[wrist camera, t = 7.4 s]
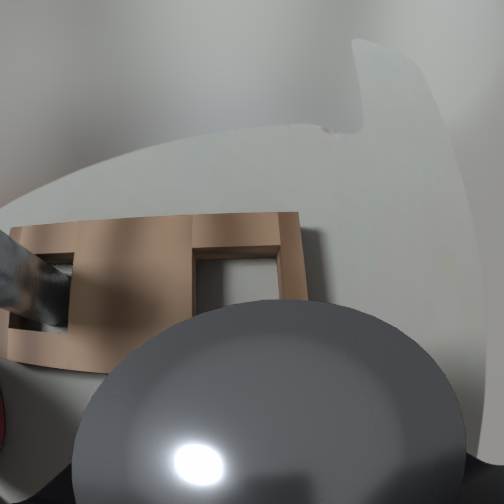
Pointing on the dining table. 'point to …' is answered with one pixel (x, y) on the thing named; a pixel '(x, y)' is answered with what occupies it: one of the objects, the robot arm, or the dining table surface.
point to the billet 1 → (31, 285)
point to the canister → (1, 422)
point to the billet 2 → (273, 414)
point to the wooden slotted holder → (141, 279)
